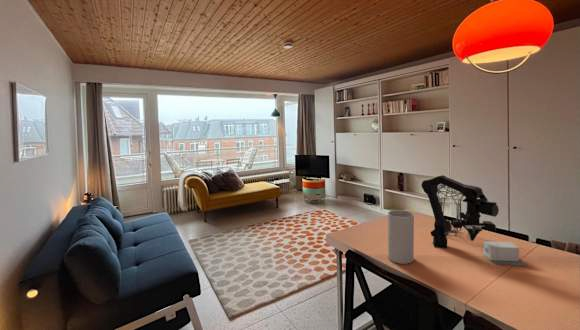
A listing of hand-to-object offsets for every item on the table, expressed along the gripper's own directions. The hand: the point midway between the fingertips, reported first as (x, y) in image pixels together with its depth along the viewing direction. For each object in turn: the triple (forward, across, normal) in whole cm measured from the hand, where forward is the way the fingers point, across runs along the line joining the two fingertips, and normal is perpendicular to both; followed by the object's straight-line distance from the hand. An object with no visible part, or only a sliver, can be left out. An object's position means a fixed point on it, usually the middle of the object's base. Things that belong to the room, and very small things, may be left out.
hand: (471, 240), depth 142 cm
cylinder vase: (+10, +36, +9) cm, 38 cm away
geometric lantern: (+10, +2, -34) cm, 35 cm away
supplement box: (+5, -7, 0) cm, 8 cm away
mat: (+9, -15, 0) cm, 18 cm away
